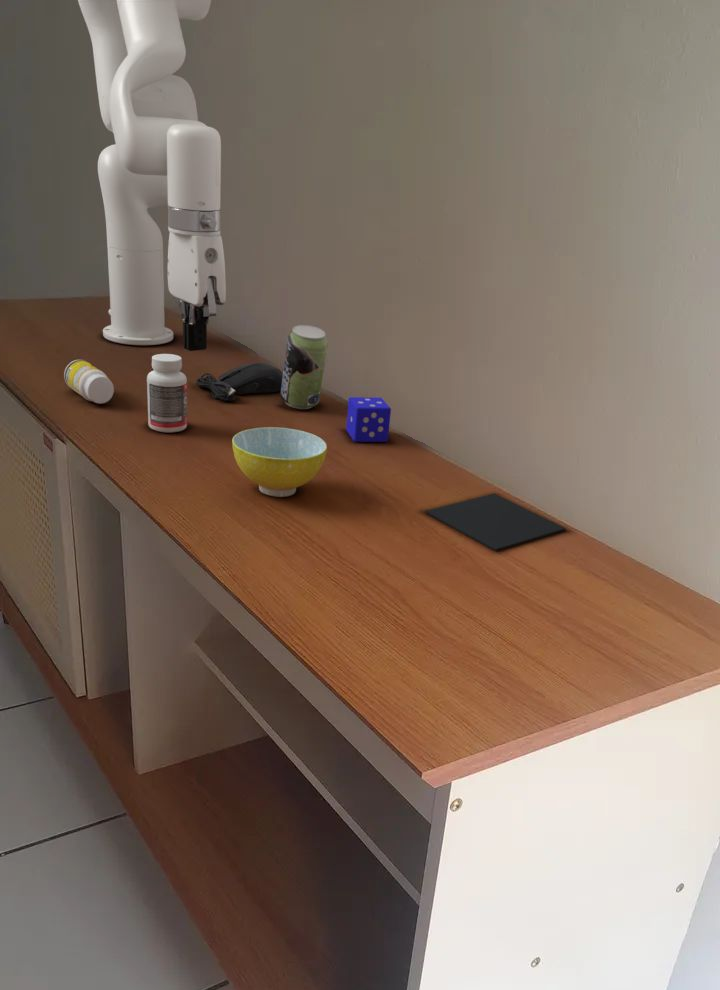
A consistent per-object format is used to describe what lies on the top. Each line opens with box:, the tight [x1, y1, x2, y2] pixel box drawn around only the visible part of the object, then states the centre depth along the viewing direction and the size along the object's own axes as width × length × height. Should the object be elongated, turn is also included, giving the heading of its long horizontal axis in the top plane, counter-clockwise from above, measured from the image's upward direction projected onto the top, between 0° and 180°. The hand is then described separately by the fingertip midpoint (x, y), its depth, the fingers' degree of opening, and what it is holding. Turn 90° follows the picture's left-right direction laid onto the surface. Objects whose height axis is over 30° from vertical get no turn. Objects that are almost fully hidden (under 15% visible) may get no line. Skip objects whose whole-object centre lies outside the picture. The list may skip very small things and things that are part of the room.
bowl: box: [231, 426, 328, 498], centre depth 114 cm, size 11×12×6 cm
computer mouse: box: [194, 362, 283, 402], centre depth 149 cm, size 10×15×4 cm
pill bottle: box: [146, 353, 188, 434], centre depth 129 cm, size 5×5×10 cm
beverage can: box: [279, 324, 329, 410], centre depth 142 cm, size 6×7×12 cm
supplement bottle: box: [63, 359, 115, 405], centre depth 139 cm, size 5×5×8 cm
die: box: [345, 396, 392, 443], centre depth 135 cm, size 5×5×5 cm
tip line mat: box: [424, 493, 566, 552], centre depth 113 cm, size 12×12×1 cm
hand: (194, 348), depth 146 cm, fingers closed
